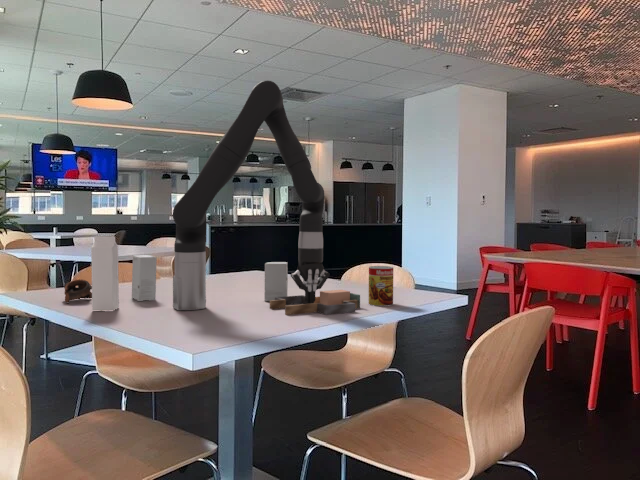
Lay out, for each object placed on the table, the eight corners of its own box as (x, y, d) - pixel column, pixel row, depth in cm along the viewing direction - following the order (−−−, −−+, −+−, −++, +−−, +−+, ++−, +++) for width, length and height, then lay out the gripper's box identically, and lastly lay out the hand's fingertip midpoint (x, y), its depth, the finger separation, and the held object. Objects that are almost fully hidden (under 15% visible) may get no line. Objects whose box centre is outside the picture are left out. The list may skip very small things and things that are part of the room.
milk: (98, 308, 157) (97, 236, 157) (119, 308, 158) (118, 235, 157) (91, 311, 151) (90, 236, 150) (113, 311, 152) (112, 236, 151)
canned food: (381, 307, 161) (382, 268, 161) (363, 303, 167) (363, 266, 167) (398, 304, 167) (398, 267, 166) (379, 301, 172) (380, 265, 172)
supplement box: (286, 301, 171) (286, 263, 171) (263, 301, 172) (263, 263, 171) (288, 298, 179) (288, 261, 178) (266, 298, 179) (266, 261, 178)
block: (328, 309, 157) (328, 293, 157) (319, 307, 162) (319, 291, 161) (350, 307, 161) (350, 291, 161) (341, 305, 166) (341, 289, 166)
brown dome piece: (102, 301, 174) (98, 281, 169) (80, 317, 167) (74, 297, 162) (77, 290, 178) (71, 271, 174) (54, 305, 171) (47, 286, 167)
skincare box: (131, 298, 177) (130, 255, 176) (148, 297, 181) (148, 254, 180) (139, 301, 170) (138, 256, 170) (157, 300, 174) (157, 255, 173)
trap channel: (294, 317, 143) (294, 303, 143) (263, 306, 162) (263, 293, 162) (369, 310, 155) (369, 297, 155) (332, 300, 174) (332, 288, 174)
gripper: (296, 247, 151) (296, 306, 152) (335, 247, 157) (335, 303, 158) (285, 246, 157) (285, 303, 158) (323, 245, 164) (322, 300, 165)
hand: (310, 303), depth 158 cm, fingers closed
